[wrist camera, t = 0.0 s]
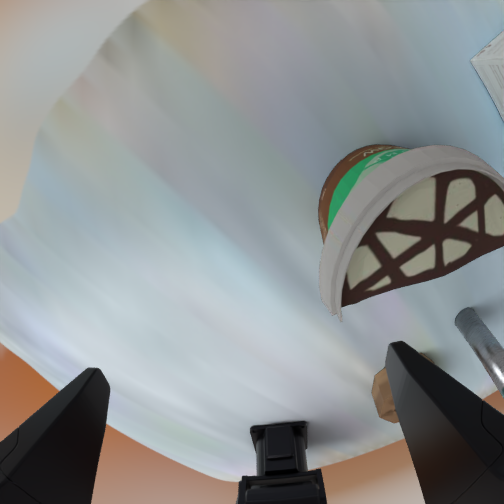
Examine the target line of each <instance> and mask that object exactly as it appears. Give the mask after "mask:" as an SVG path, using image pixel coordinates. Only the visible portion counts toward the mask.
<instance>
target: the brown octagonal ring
mask: <svg viewBox="0 0 504 504" xmlns="http://www.w3.org/2000/svg"><path fill="white" fill-rule="evenodd" d="M420 354H421V355H423V356H424V357H426V356H425V355H424V354H422V353H420ZM426 358H427V359H428V360H430V359H429V358H428V357H426ZM430 361H431V362H432V363H434V362H433V361H432V360H430ZM372 396H373V399H374V402H375V405H376V408H377V411H378V414H379V417H380V418H382V419H385V420H387V421H390V422H392V423H397V422H399V419H398V416H397V413H396V410H395V406H394V401H393V397H392V393H391V389H390V384H389V380H388V376H387V372H386V367H385V368H384V369H382V370H381V371H380V372H379V373H378V374H376V375H375V377H374V383H373V388H372Z"/></svg>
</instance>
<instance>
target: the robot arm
mask: <svg viewBox="0 0 504 504" xmlns="http://www.w3.org/2000/svg"><path fill="white" fill-rule="evenodd" d="M385 367H386V372H387V376H388V380H389V384H390V389H391V393H392V397H393V401H394V406H395V410H396V413H397V416H398V419H399V422H400V425H401V428H402V431H403V434H404V436H405V439H406V442H407V445H408V448H409V451H410V454H411V458H412V461H413V464H414V467H415V470H416V473H417V477H418V480H419V483H420V486H421V490H422V493H423V497H424V500H425V504H504V415H503V414H502V413H500V412H499V411H498V410H496V409H495V408H493V407H492V406H491V405H489V404H488V403H486V402H485V401H482V399H481V398H480V397H478V396H477V395H476V394H474V393H473V392H472V391H470V390H469V389H468V388H466V387H465V386H464V385H462V384H461V383H460V382H458V381H457V380H455V379H454V378H453V377H451V376H450V375H449V374H447V373H446V372H445V371H443V370H442V369H441V368H439V367H438V366H436V365H435V364H434V363H432V362H431V361H430V360H428V359H427V358H426V357H424V356H423V355H421V354H420V353H419V352H417V351H416V350H415V349H413V348H412V347H410V346H409V345H408V344H406V343H405V342H403V341H397V342H392V343H390V344H389V346H388V351H387V356H386V361H385ZM109 397H110V385H109V383H108V381H107V380H106V378H105V376H104V375H103V373H102V371H101V370H100V369H99V368H87V369H86V370H84V371H83V372H82V373H81V374H80V375H78V376H77V377H76V378H75V379H74V380H73V381H71V382H70V383H69V384H68V385H67V386H65V387H64V388H63V389H62V390H61V391H60V392H58V393H57V394H56V395H55V396H54V397H53V398H52V399H50V400H49V401H48V402H47V403H46V404H44V405H43V406H42V407H41V408H40V409H39V410H37V411H36V412H35V413H34V414H33V415H32V416H30V417H29V418H28V419H27V420H26V421H25V422H24V423H22V424H21V425H20V426H19V428H17V429H15V430H14V431H13V432H12V433H11V434H10V435H8V436H7V437H6V438H5V439H4V440H2V441H1V442H0V504H91V500H92V494H93V489H94V483H95V477H96V472H97V467H98V462H99V457H100V452H101V447H102V443H103V438H104V433H105V428H106V420H107V412H108V404H109ZM250 434H251V437H252V441H253V444H254V448H255V451H256V457H257V476H242V481H240V482H239V489H238V498H237V501H236V504H327V500H326V494H325V488H324V483H323V477H322V472H321V469H316V470H312V471H308V468H307V460H306V451H305V449H307V423H306V422H298V423H289V424H280V425H270V426H257V427H251V428H250Z"/></svg>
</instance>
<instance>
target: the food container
mask: <svg viewBox="0 0 504 504" xmlns="http://www.w3.org/2000/svg"><path fill="white" fill-rule="evenodd" d="M318 216H319V224H320V229H321V234H322V238H323V243H324V246H323V249H322V254H321V261H320V267H319V288H320V294H321V299H322V302H323V303H324V304H325V306H326V307H327V309H328V310H329V311H330V313H331V314H332V316H333V315H335V314H337V315H338V317H339V320H340V322H342V313H341V307H344V306H347V305H351V304H356V303H358V302H360V301H362V300H364V299H367V298H369V297H372V296H375V295H378V294H381V293H384V292H387V291H390V290H393V289H397V288H401V287H405V286H409V285H413V284H417V283H421V282H425V281H429V280H432V279H435V278H439V277H442V276H445V275H447V274H449V273H451V272H453V271H455V270H457V269H459V268H461V267H462V266H464V265H466V264H467V263H469V262H471V261H473V260H475V259H476V258H478V257H480V256H482V255H484V254H487V253H489V252H491V251H494V250H496V249H498V248H501V247H503V246H504V178H503V177H502V176H501V175H500V174H499V173H498V172H496V171H495V170H494V169H493V168H492V167H491V166H489V165H488V164H487V163H486V162H484V161H483V160H482V159H481V158H479V157H478V156H476V155H474V154H472V153H470V152H468V151H467V150H464V149H460V148H457V147H453V146H445V145H431V146H425V147H418V148H415V149H412V150H411V149H407V148H402V147H397V146H392V145H377V144H376V145H370V146H365V147H362V148H360V149H357V150H355V151H353V152H352V153H350V154H348V155H347V156H346V157H344V158H343V159H342V160H341V161H340V162H339V163H338V164H337V165H336V166H335V167H334V168H333V170H332V171H331V173H330V174H329V176H328V177H327V179H326V181H325V184H324V186H323V188H322V191H321V195H320V199H319V207H318Z"/></svg>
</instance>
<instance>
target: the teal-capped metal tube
mask: <svg viewBox="0 0 504 504" xmlns="http://www.w3.org/2000/svg"><path fill="white" fill-rule="evenodd" d="M455 325H456V326H457V328H458V329H459V331H460V332H461V333H462V335H463V336H464V338H465V339H466V341H467V342H468V343H469V345H470V346H471V348H472V349H473V351H474V352H475V354H476V355H477V357H478V358H479V360H480V361H481V363H482V364H483V366H484V367H485V369H486V371H487V372H488V374H489V375H490V377H491V378H492V380H493V382H494V383H495V385H496V387H497V388H498V390H499V391H500V393H501V395H502V396H503V398H504V349H503V347H502V346H501V345H500V343H499V342H498V341H497V339H496V338H495V337H494V335H493V334H492V333H491V332H490V330H489V329H488V328H487V326H486V325H485V324H484V323H483V321H482V320H481V319H480V318H479V316H478V315H477V314H476V313H475V312H474V310H473V309H472V308H465V309H463V310H462V311H461V312H460V313H459V314H458V315H457V317H456V319H455Z"/></svg>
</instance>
